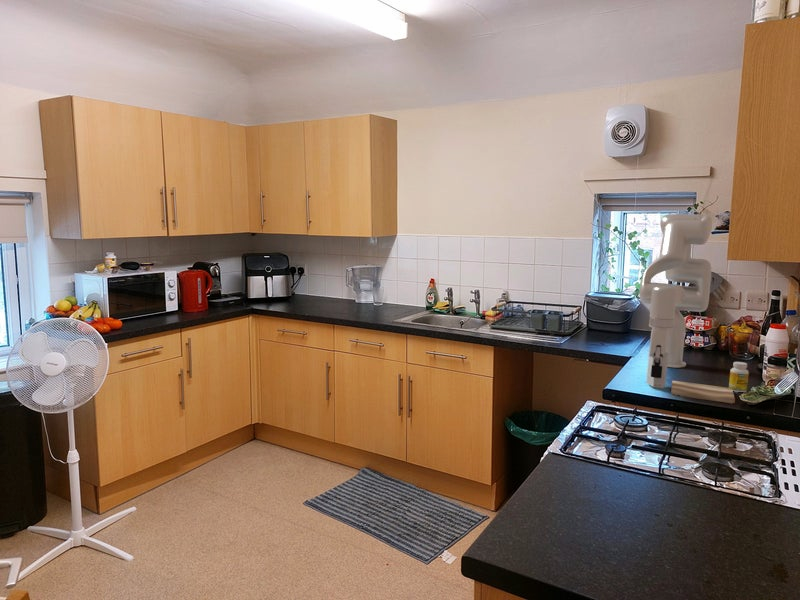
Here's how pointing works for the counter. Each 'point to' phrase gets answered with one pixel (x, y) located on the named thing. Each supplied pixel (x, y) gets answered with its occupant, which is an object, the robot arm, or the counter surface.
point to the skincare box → (661, 381)
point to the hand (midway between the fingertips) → (656, 374)
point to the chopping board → (703, 391)
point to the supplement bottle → (739, 377)
